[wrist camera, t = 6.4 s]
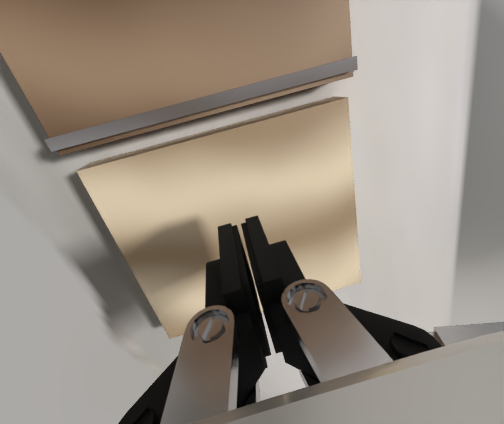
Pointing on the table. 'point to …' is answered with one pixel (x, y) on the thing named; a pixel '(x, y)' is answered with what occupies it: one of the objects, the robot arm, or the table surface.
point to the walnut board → (165, 59)
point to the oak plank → (232, 202)
